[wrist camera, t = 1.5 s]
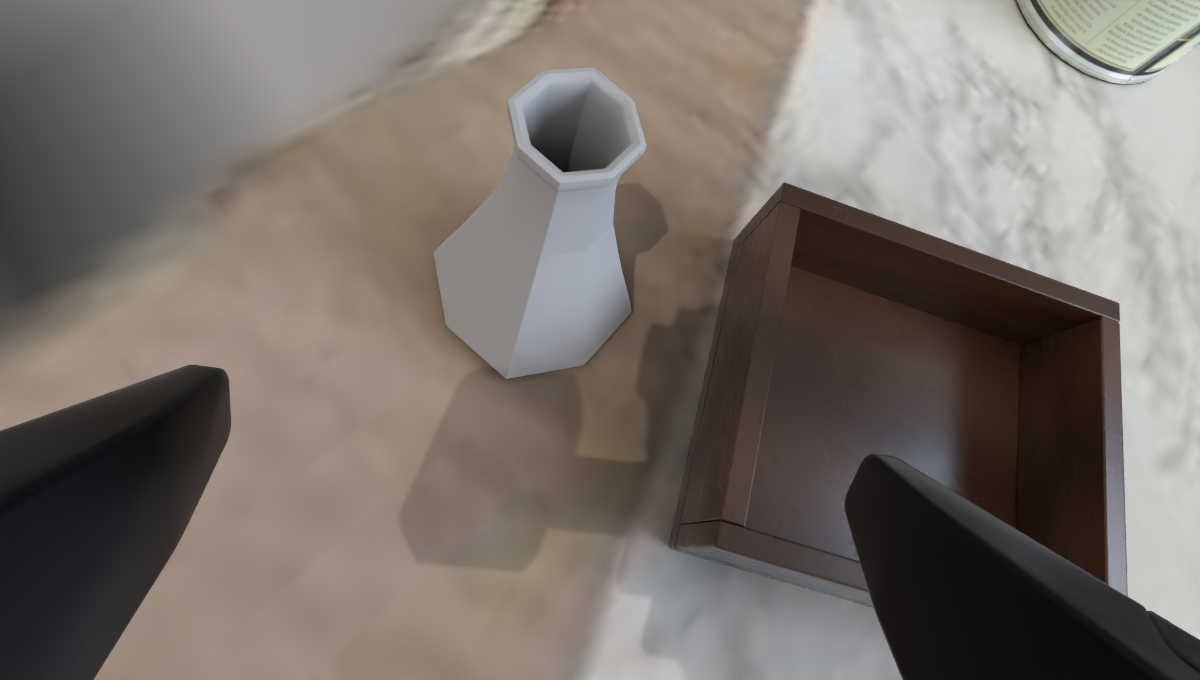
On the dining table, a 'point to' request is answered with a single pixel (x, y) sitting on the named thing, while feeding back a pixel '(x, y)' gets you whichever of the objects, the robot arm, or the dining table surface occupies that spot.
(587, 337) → the flask
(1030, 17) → the coffee can
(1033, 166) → the dining table surface
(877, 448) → the crate
